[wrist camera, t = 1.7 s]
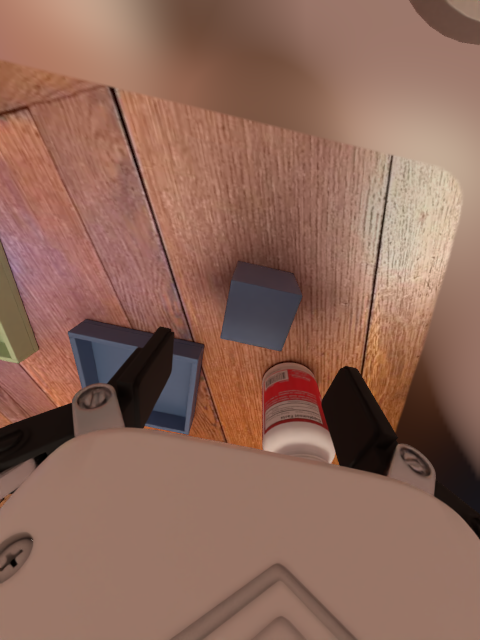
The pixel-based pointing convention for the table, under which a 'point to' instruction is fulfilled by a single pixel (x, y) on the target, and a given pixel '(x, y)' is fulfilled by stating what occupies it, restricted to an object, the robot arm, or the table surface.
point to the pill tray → (13, 319)
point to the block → (260, 306)
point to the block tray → (116, 347)
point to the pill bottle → (294, 414)
